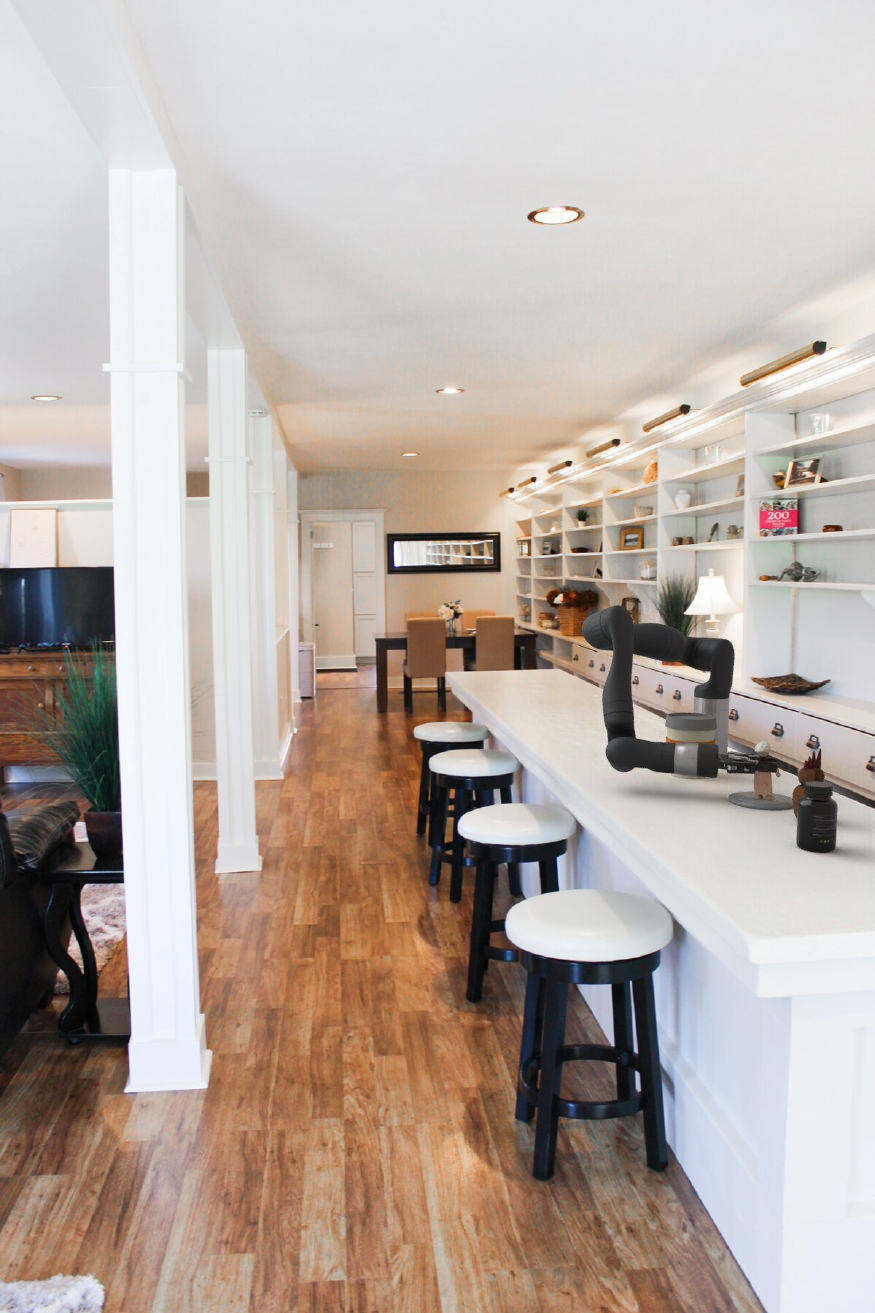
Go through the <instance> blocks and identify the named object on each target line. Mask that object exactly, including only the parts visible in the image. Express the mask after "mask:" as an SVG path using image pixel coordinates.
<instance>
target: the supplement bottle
mask: <svg viewBox="0 0 875 1313" xmlns="http://www.w3.org/2000/svg"><path fill="white" fill-rule="evenodd" d="M833 789H834V788H833V784H831V783H828V782H825V781H824V782H806V783H805V785H804V794H805V796H803V797H801V798H800V799H799V801H798V811H797V818H796V835H795V836H796V837H795V841H796V842H795V843H796V846H797V848H799V849H801V850H803V851H806V852H809V853H816V854H827V853H832V852H834V851H835V850H836V848H837V834H838V833H837V831H838V829H837V828H838V811H839V810H838V808H839V807H838V805H839V804H838V803H837V801H836V800H835V799H834V798H832V796H833V795H834V792H833Z"/></svg>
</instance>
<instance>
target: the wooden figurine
mask: <svg viewBox="0 0 875 1313" xmlns="http://www.w3.org/2000/svg"><path fill="white" fill-rule="evenodd" d="M816 755H817V756H816ZM825 776H826V774H825V772H824V771H823V769H822V748H819V749H818V752H817V754H816V752H815V751H814V750H813V751H812V754H811V756H810V755H809V756H808V759H805V760H804V764H803V767H802V768H800V769H799V770H798V774H797V778H798V779H797V780H798V783H800V784H797V785H796V786H795V787H794V788H793V791H792V797H791V798H792V801H793V808H792V809H793V814H794V816H795V818H796V819H797V811H798V801H799V799H800V798H801V797H803V796H805V794H804V785H805V783H806V782H824V783H825V778H826V777H825Z"/></svg>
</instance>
